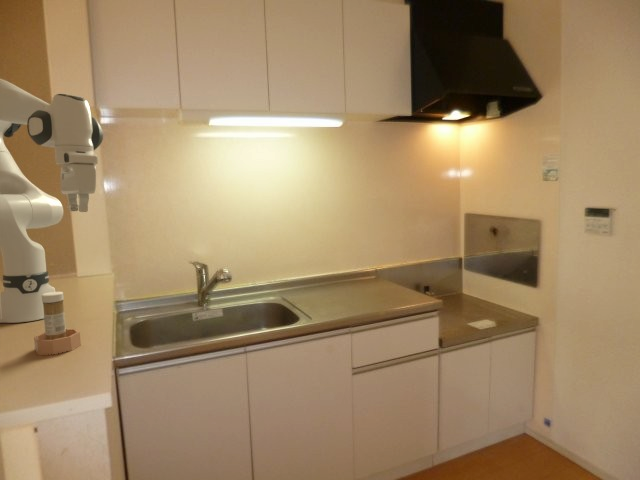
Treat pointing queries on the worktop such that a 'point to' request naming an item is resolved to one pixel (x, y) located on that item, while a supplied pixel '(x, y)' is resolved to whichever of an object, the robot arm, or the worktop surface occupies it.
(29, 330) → the worktop surface
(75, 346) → the bowl
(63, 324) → the sprinkles bottle
